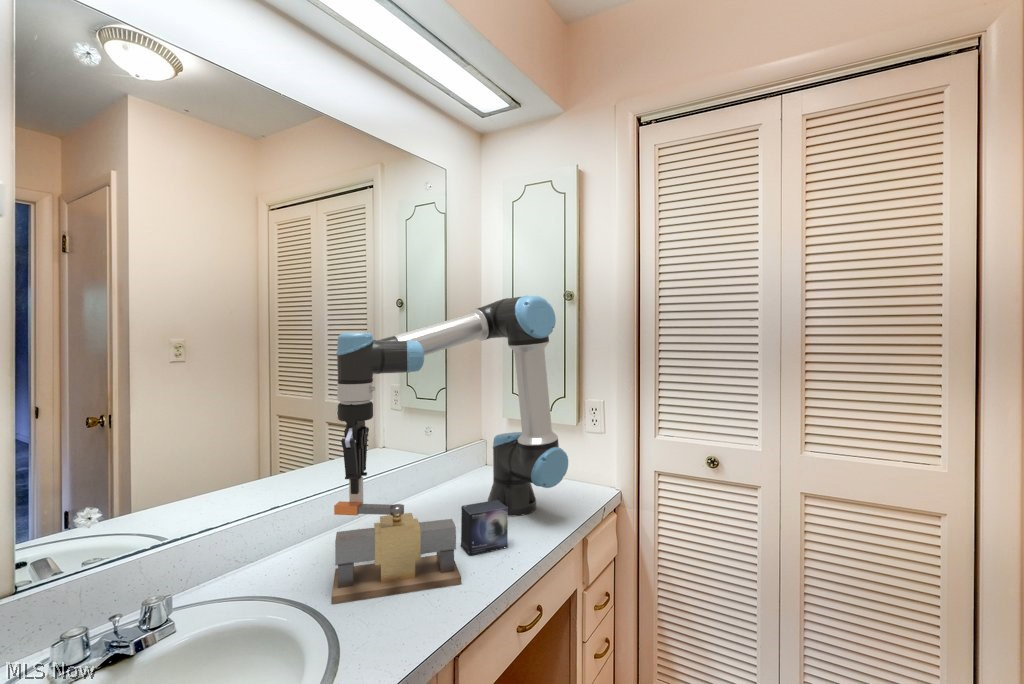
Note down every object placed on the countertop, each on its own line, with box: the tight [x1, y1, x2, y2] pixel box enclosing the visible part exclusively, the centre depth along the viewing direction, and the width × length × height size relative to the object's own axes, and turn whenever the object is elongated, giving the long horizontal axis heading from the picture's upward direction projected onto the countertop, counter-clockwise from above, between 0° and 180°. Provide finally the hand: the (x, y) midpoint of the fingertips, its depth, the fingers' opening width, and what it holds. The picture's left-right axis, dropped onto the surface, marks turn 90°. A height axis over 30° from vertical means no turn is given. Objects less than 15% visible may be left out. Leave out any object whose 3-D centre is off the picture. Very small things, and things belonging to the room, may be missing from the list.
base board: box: [331, 554, 462, 605], centre depth 103 cm, size 26×12×2 cm, turn 107°
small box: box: [460, 500, 509, 556], centre depth 119 cm, size 11×6×10 cm, turn 117°
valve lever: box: [333, 500, 405, 516], centre depth 104 cm, size 15×3×2 cm, turn 85°
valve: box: [334, 512, 457, 588], centre depth 103 cm, size 25×7×13 cm, turn 107°
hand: (356, 506), depth 106 cm, fingers closed
